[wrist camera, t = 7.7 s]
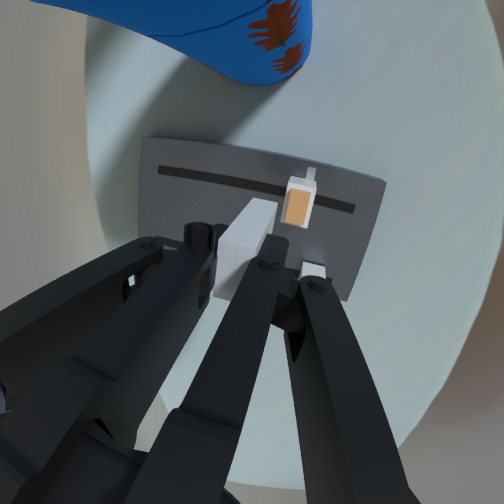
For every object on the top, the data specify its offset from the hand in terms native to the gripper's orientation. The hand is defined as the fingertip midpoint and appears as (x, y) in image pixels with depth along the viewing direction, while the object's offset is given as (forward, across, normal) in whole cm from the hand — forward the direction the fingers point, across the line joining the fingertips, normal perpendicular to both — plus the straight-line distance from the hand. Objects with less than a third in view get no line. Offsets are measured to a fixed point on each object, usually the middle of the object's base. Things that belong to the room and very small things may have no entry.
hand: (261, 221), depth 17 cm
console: (+13, -3, -4) cm, 14 cm away
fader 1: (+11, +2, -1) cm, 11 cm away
